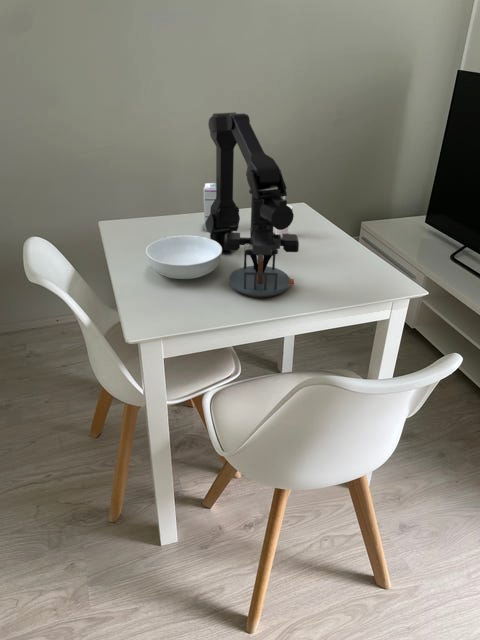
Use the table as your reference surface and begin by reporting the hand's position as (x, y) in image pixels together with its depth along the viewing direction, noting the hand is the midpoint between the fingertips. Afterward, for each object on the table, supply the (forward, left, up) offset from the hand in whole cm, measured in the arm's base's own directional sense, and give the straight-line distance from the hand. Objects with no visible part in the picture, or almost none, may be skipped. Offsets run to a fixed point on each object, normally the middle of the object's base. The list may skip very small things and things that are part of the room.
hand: (259, 272), depth 137 cm
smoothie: (-2, +37, -4) cm, 37 cm away
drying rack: (+1, 0, -3) cm, 3 cm away
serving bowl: (-22, +2, -4) cm, 22 cm away
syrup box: (-25, +36, -4) cm, 44 cm away
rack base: (0, 0, -4) cm, 4 cm away
